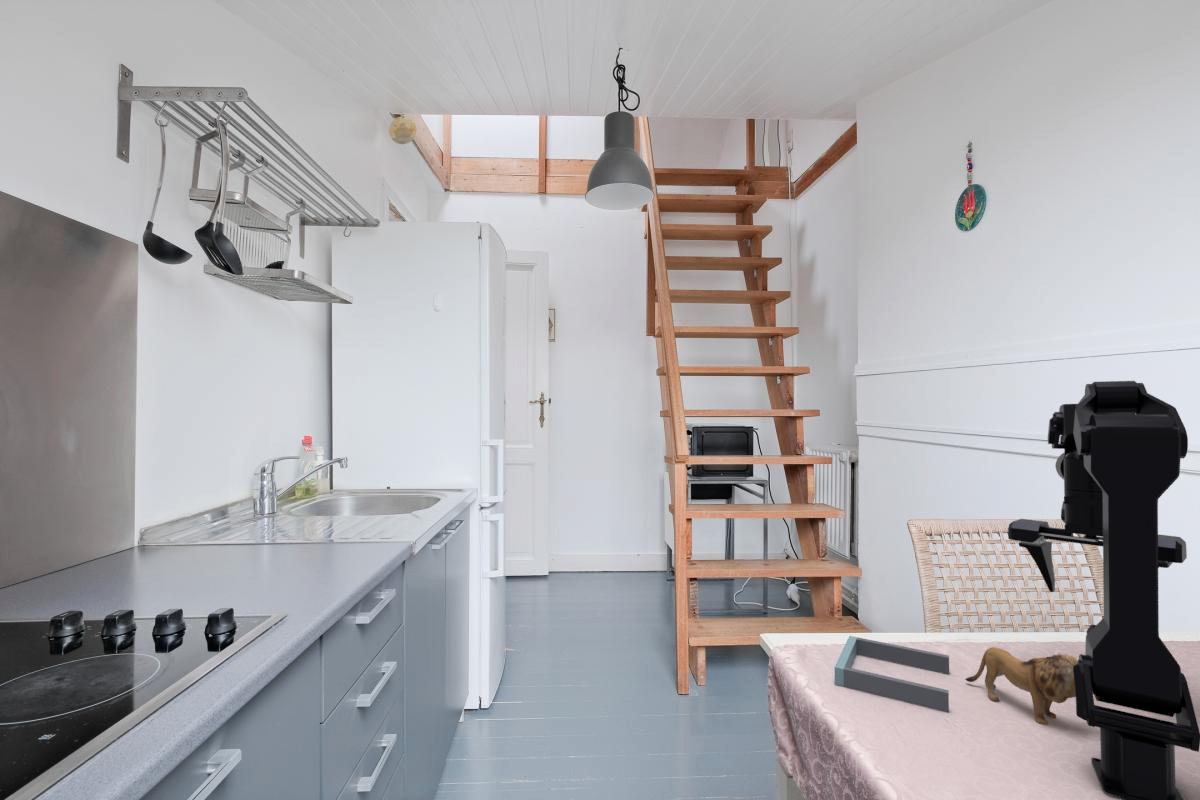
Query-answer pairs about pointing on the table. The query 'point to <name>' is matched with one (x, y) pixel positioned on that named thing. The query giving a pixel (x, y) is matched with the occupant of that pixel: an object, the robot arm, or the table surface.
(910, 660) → the chassis bay
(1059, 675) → the lion figurine
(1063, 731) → the table surface
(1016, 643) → the table surface
